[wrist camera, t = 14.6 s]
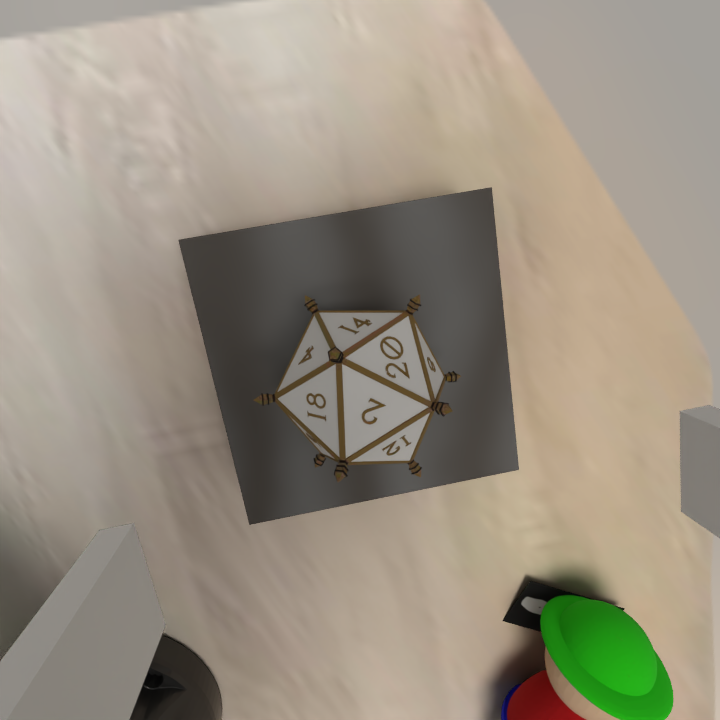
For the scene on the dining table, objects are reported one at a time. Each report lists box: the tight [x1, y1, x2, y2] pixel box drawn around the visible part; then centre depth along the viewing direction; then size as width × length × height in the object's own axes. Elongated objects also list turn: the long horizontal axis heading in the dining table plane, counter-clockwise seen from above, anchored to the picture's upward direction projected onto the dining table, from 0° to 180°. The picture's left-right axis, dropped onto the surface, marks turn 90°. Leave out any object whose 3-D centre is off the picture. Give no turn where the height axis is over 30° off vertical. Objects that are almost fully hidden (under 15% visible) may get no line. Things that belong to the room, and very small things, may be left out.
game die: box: [253, 294, 461, 482], centre depth 22 cm, size 9×8×10 cm
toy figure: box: [501, 581, 673, 720], centre depth 34 cm, size 9×10×15 cm
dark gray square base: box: [179, 187, 519, 525], centre depth 29 cm, size 16×16×5 cm
